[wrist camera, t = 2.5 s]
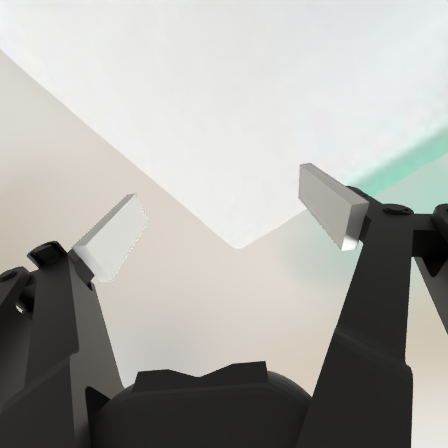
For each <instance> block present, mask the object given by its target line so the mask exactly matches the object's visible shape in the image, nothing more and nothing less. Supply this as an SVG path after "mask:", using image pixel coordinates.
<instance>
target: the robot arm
mask: <svg viewBox="0 0 448 448" xmlns="http://www.w3.org/2000/svg"><path fill="white" fill-rule="evenodd" d="M298 198H299V199H300V200H301V201H302V203H303V204H304V205H305V206H306V208H307V209H308V210H309V211H310V213H311V214H312V215H313V216H314V217H315V219H316V220H317V221H318V222H319V224H320V225H321V226H322V227H323V229H324V230H325V231H326V232H327V233H328V235H329V236H330V237H331V238H332V240H333V241H334V242H335V243H336V244H337V246H338V247H339V248H340V249H341V251H343V250H350V249H356V248H357V245H358V242H359V240H360V241H361V242H362V243H363V247H362V250H361V253H360V256H359V260H358V262H357V265H356V269H355V272H354V275H353V278H352V281H351V284H350V287H349V290H348V293H347V296H346V299H345V302H344V305H343V308H342V311H341V314H340V317H339V320H338V323H337V326H336V328H335V331H334V333H333V336H332V339H331V342H330V345H329V348H328V352H327V354H326V357H325V360H324V364H323V366H322V369H321V372H320V375H319V378H318V381H317V384H316V387H315V390H314V394H313V396H312V397H311V396H310V395H309V394H308V393H307V392H306V391H305V390H304V389H303V388H301V387H300V386H299V385H297V384H296V383H295V382H293V381H292V380H290V379H288V378H286V377H285V376H282V375H280V374H277V373H274V372H271V371H267V368H266V362H265V361H261V362H250V363H237V364H231V365H229V366H226V367H224V368H221V369H219V370H216V371H214V372H212V373H209V374H207V375H204V376H202V377H194V376H191V375H187V374H183V373H180V372H176V371H172V370H169V369H166V370H153V371H141V372H138V374H137V377H136V380H135V383H134V384H132V385H131V386H129V387H127V388H125V389H124V387H123V385H122V383H121V379H120V376H119V372H118V369H117V365H116V361H115V358H114V354H113V351H112V347H111V343H110V340H109V336H108V333H107V329H106V325H105V322H104V318H103V315H102V311H101V307H100V304H99V300H98V296H97V293H96V289H95V286H94V284H93V283H92V282H91V280H92V278H93V277H94V276H95V277H96V278H97V279H98V281H99V282H107V281H112V280H113V278H114V277H115V275H116V274H117V272H118V270H119V269H120V267H121V266H122V264H123V263H124V261H125V259H126V258H127V256H128V254H129V253H130V251H131V250H132V248H133V247H134V245H135V243H136V242H137V240H138V239H139V237H140V235H141V234H142V232H143V231H144V229H145V227H146V226H147V224H148V223H149V220H148V218H147V216H146V214H145V212H144V210H143V207H142V205H141V204H140V201H139V199H138V197H137V195H136V194H130V195H127V196H126V197H124V198H123V199H122V200H121V201H120V202H119V203H118V204H117V205H116V206H115V207H114V208H113V209H112V210H111V211H110V212H109V213H108V214H107V215H106V216H105V217H104V218H102V219H101V220H100V221H99V222H98V223H97V224H96V225H95V226H94V227H93V228H92V229H91V230H90V231H89V232H88V233H87V234H86V235H85V236H84V237H83V238H81V240H79V241H78V242H77V243H76V244H75V245H74V246H73V247H72V249H71V250H70V251H69V252H68V253H67V252H66V251H65V250H64V249H63V248H62V246H61V245H60V244H59V243H58V242H57V241H51V242H47V243H45V244H42V245H41V246H38V247H36V248H35V249H33V250H32V251H31V252H30V253H28V255H27V257H28V258H29V259H30V260H31V261H32V262H33V263H34V264H35V265H36V266H37V267H38V268H39V269H38V270H36V271H33V272H29V271H28V270H27V269H26V268H24V267H23V266H22V267H16V268H14V269H11V270H7V271H6V272H4V273H2V274H1V275H0V448H411V429H412V399H413V374H412V370H411V368H410V367H409V366H408V365H406V362H405V348H406V333H407V317H408V302H409V287H410V270H411V257H414V259H415V261H416V263H417V265H418V267H419V270H420V272H421V275H422V277H423V279H424V282H425V284H426V286H427V288H428V291H429V293H430V295H431V298H432V300H433V302H434V304H435V307H436V309H437V311H438V314H439V316H440V318H441V320H442V323H443V325H444V327H445V330H446V332H447V334H448V204H441V205H438V206H437V207H436V208H435V210H434V212H433V214H414V212H413V210H411V209H410V208H408V207H405V206H402V205H398V204H382V203H380V202H378V201H377V200H375V199H374V198H372V197H370V196H368V195H367V194H366V193H363V192H362V191H361V190H359V189H358V188H354V187H351V186H344V185H343V184H341V183H340V182H338V181H337V180H335V179H334V178H332V177H331V176H329V175H328V174H326V173H325V172H323V171H322V170H320V169H319V168H317V167H316V166H314V165H313V164H311V163H307V164H301V165H300V175H299V197H298ZM16 305H17V306H18V307H19V308H21V309H22V310H23V311H22V313H21V312H19V311H18V309H17V308H16Z"/></svg>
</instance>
